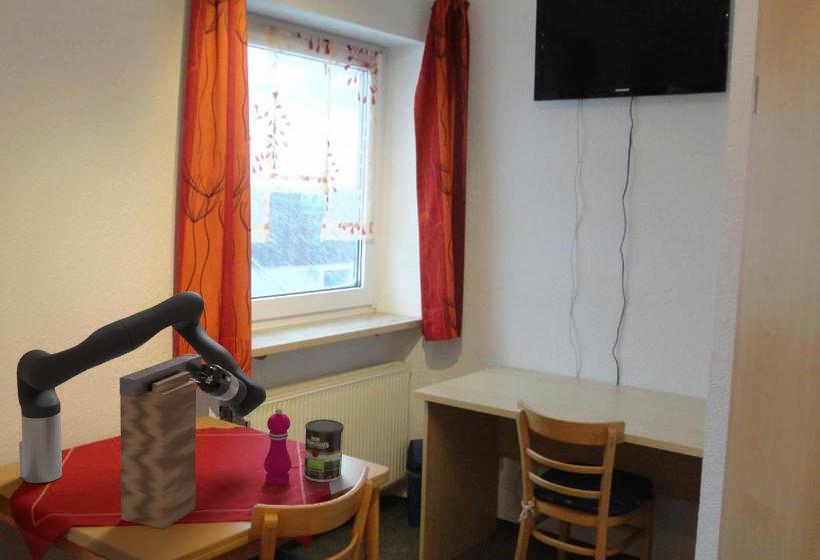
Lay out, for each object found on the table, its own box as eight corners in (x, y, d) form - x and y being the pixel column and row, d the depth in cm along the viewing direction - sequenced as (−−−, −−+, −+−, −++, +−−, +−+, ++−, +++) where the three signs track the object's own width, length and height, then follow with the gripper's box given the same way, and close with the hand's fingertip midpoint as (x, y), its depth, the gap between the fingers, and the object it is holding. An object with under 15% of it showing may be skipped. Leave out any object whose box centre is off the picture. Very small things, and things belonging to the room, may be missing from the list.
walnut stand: (121, 519, 192) (120, 378, 187) (153, 499, 203) (153, 366, 198) (164, 529, 188) (164, 385, 183) (195, 509, 199) (196, 373, 194)
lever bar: (119, 395, 181) (119, 377, 180) (187, 369, 204) (187, 353, 204) (134, 397, 180) (134, 380, 179) (201, 371, 203) (201, 355, 202)
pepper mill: (285, 487, 214) (287, 413, 211) (259, 484, 216) (260, 410, 212) (294, 477, 221) (296, 405, 218) (269, 473, 223) (271, 402, 219)
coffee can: (331, 485, 217) (332, 434, 215) (296, 477, 221) (298, 427, 219) (348, 472, 227) (350, 422, 224) (315, 465, 230) (316, 416, 228)
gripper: (199, 365, 218) (167, 346, 204) (246, 373, 213) (216, 354, 199) (191, 393, 216) (157, 375, 201) (238, 401, 211) (207, 383, 197)
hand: (186, 364), depth 200 cm, fingers open, 8 cm apart
